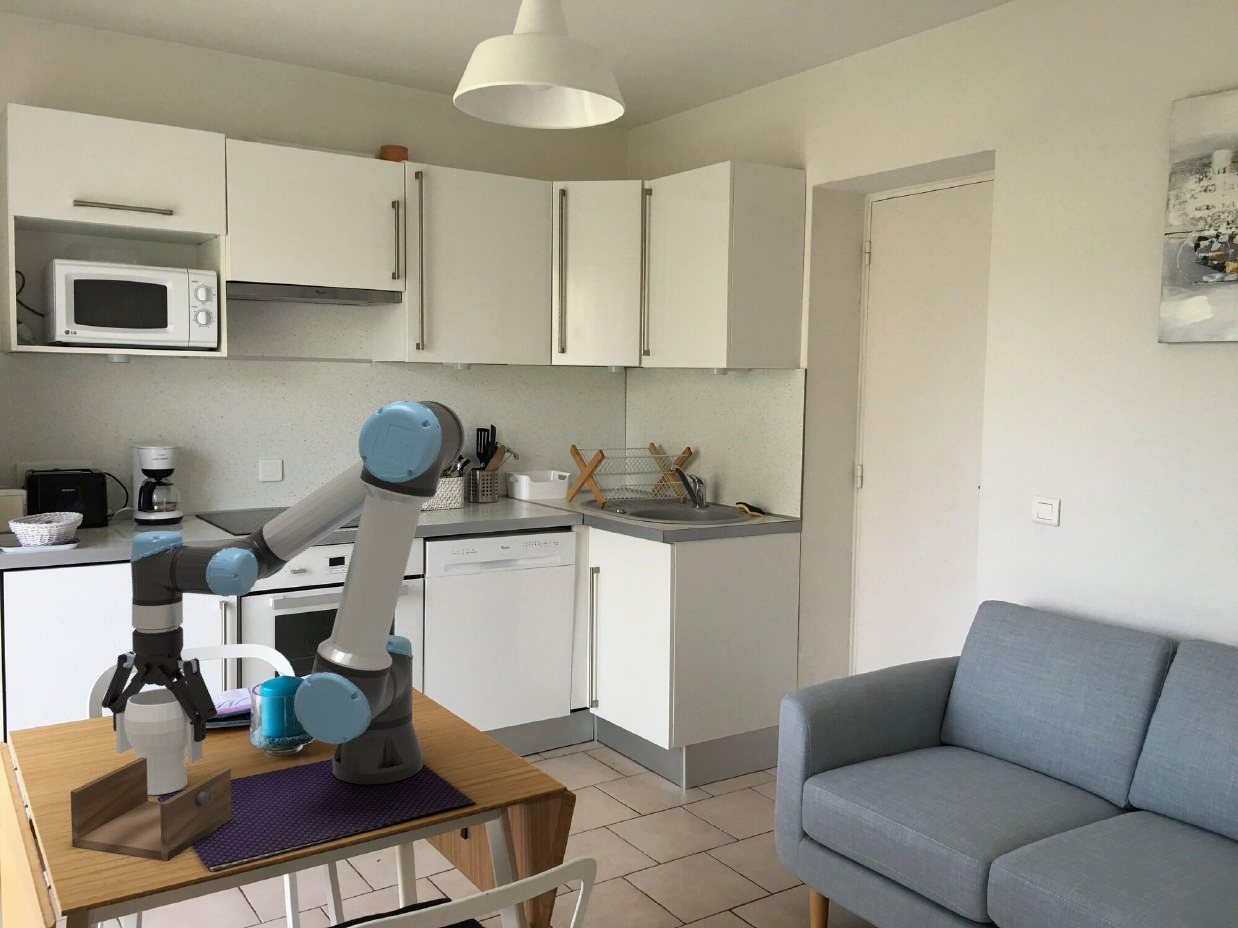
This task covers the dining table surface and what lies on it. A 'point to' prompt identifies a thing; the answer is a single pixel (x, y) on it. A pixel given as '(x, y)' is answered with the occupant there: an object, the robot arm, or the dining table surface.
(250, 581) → the robot arm
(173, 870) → the dining table surface
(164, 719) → the cup
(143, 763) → the holder
